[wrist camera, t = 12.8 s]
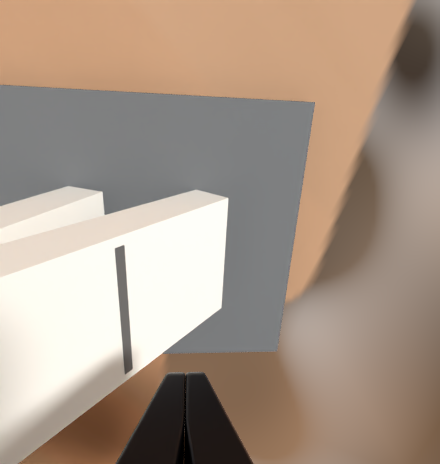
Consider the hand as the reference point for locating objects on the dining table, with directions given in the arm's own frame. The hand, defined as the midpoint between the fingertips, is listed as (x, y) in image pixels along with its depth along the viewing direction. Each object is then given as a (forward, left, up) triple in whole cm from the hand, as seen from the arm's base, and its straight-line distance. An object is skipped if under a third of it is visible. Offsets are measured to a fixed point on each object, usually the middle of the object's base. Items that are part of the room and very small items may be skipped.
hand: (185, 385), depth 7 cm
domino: (0, -1, -7) cm, 7 cm away
